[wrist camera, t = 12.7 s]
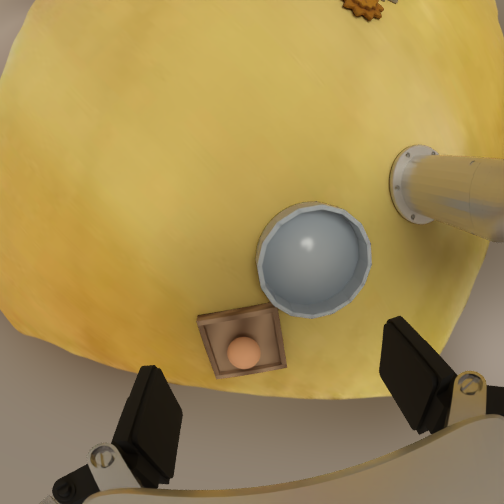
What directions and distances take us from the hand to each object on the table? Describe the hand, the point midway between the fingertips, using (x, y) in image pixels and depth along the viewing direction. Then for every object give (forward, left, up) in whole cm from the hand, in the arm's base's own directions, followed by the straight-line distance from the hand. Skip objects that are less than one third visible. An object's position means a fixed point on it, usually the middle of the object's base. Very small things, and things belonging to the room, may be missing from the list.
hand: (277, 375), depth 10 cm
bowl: (-8, +6, -28) cm, 30 cm away
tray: (+4, +18, -28) cm, 34 cm away
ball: (+4, +18, -28) cm, 33 cm away
